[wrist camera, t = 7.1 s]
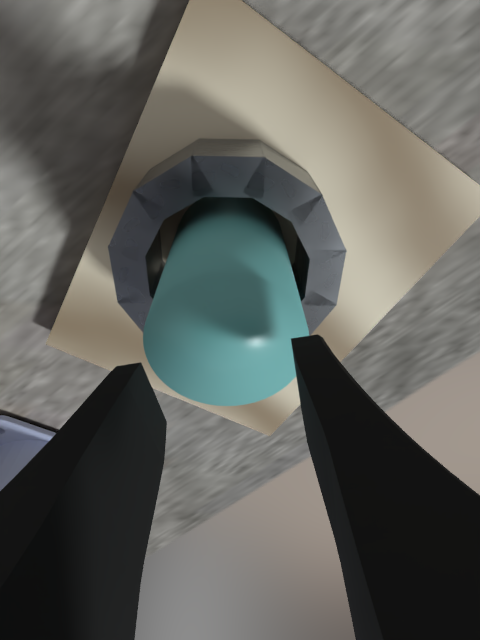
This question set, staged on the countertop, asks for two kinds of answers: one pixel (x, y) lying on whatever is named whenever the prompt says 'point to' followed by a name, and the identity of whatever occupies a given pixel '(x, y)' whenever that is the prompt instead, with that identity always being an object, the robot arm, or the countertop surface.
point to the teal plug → (225, 306)
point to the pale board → (328, 174)
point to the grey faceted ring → (227, 181)
